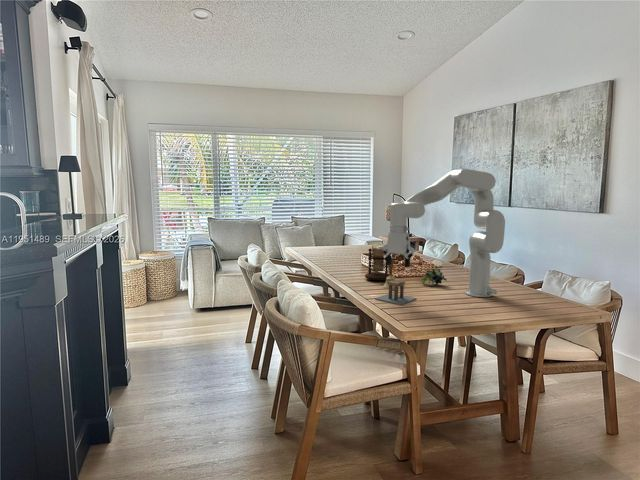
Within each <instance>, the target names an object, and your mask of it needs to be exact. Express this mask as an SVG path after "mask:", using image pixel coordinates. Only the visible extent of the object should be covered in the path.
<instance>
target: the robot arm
mask: <svg viewBox="0 0 640 480" xmlns="http://www.w3.org/2000/svg"><path fill="white" fill-rule="evenodd" d="M496 184H497V183H496V177H495V176H494V174H492V173H490V172H486V171H481V170H475V169H469V168H457V169H456V168H455V169H453V170H450V171H449V172H448V173H446V174H445V175H443V176H442V177H440V178H439V179H438V180H437V181H435V182H434V183H433V184H431V185H429V186H427V187H426V188H424V189H422V190H420V191H418V192H416V193H414V194H413V195H412V196H410V197H409V198H408V199H407V200H405V201H404V202H392V203H391V204H390V207H389V232H388V236H387V244H385V245H383V246H381V248H382V250H383V252H384V254H385V255H384V257H387V259H386V260H385V263H386V262H387V265H390V264H392V260H393V256H392V254H395V255H403V256H404V257H405V258H404V268H409V267H410V266H411V258H412V257H413V256H414V254H415V253H416V249H415V248H413V247H412V246H411V241H410V234H409V232H407V231H409V230H410V227H408V226H407V222H408V220H407V218H408V219H420V218H422V217H423V216H424V215H425V213H426V209H425V206H428V205H431V204H434V203H437V202H440V201H442V200H444V199H445V198H447V197H448V196H449V195H450V194H452V193H453V192H455V191H456V190H457V189H459V188H466V189H467V190H469V191H470V192H471V193H472V195H473V197H474V209H473V210H474V211H473V212H474V213H473V223H474V226H475V227H476V228H479V229H483V230H485V231H483V230H482V231H481V230H478V231H475V232H473V233H472V234H471V235H470V236H469V240H468V244H469V252H470V253H469V255H470V256H469V276H468V277H469V279H468V289H466V290H465V291H464V292H465V295H467V296H470V297H476V298H490V297H492V296H493V295H498V289H495V288H492V286H491V285H490V279H491V277H490V276H491V264H492V260H491V259H492V258H491V254H497V253H498V252H501V250H502V249H503V245H504V241H505V229H506V219H505V215H504V214H503V213H502V212H501V211H499V210H497V209H494V201H495V200H494V194H493V191H492V190H493V189H494V187H495V185H496ZM386 249H387V250H386Z"/></svg>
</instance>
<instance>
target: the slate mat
mask: <svg viewBox="0 0 640 480" xmlns="http://www.w3.org/2000/svg"><path fill="white" fill-rule="evenodd" d="M374 300H376V301H381V302H385V303H390V304H394V305H398V306H402V305H405V304H408V303H411V302H413V301H415V300H417V297H413V296H409V295H403V298H400V294H398V300H394V293H393V292H392V299H389V293H386V294H384V295H382V296H377V297H375V298H374Z"/></svg>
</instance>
